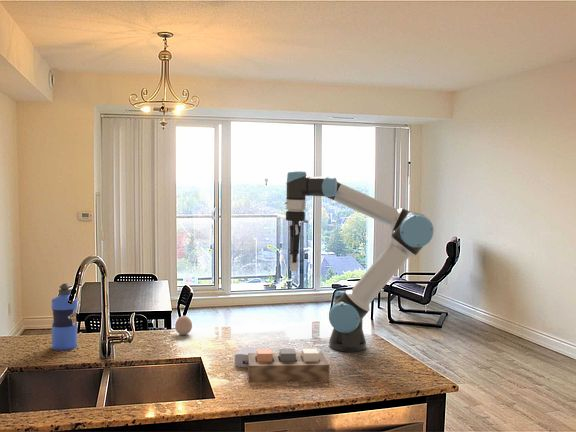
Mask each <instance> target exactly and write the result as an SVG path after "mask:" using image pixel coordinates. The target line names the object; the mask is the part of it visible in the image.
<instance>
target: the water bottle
mask: <svg viewBox="0 0 576 432" xmlns="http://www.w3.org/2000/svg"><path fill="white" fill-rule="evenodd" d="M59 288H60V289H58V295H57V296H55V297H54V298H52V299H51V311H52V317H53V319H52V325H51V349H52V351H53V350H54V351H59V352H60V351H70V350H73V349H75V348H77V347H78V346H77V345H78V322H77V310H78V305H79V303H78V302H79V301H78V297H76V299H75V300H74V301H73V303H72V304H70V303H68V301H69V296H70V295H71V292H72V291H71V286H70V285H69V284H68V283H62V284H61V285H60V286H59Z"/></svg>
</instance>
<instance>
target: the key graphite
mask: <svg viewBox="0 0 576 432" xmlns="http://www.w3.org/2000/svg"><path fill="white" fill-rule="evenodd" d="M278 353H279V362H296V353H297V352H296V350H295V348H279V350H278Z"/></svg>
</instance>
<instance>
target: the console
mask: <svg viewBox="0 0 576 432" xmlns="http://www.w3.org/2000/svg"><path fill="white" fill-rule="evenodd" d="M272 353H273V362H256V360H257V353H248V367H247V378H248V383H253V382H254V383H259V382H260V383H262V382H265V383H266V382H267V383H268V382H269V383H270V382H328V381H329V379H330V377H329V376H330V363H329V361H328V360H327V359H326V356H325V355H324V352H319V362H303V361H302V352H296V362H279V352H272Z"/></svg>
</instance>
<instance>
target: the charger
mask: <svg viewBox="0 0 576 432" xmlns="http://www.w3.org/2000/svg"><path fill="white" fill-rule="evenodd" d="M257 349H263V348H262V347H254V346H253V347H251V346H250V347H249V346H242V347H241V348H240V349H239V350H238V351H237V352H236V354H235V355H234V366H235V367H240V366H241V367H242V368H248V353H257ZM241 367H240V368H241Z"/></svg>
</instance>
